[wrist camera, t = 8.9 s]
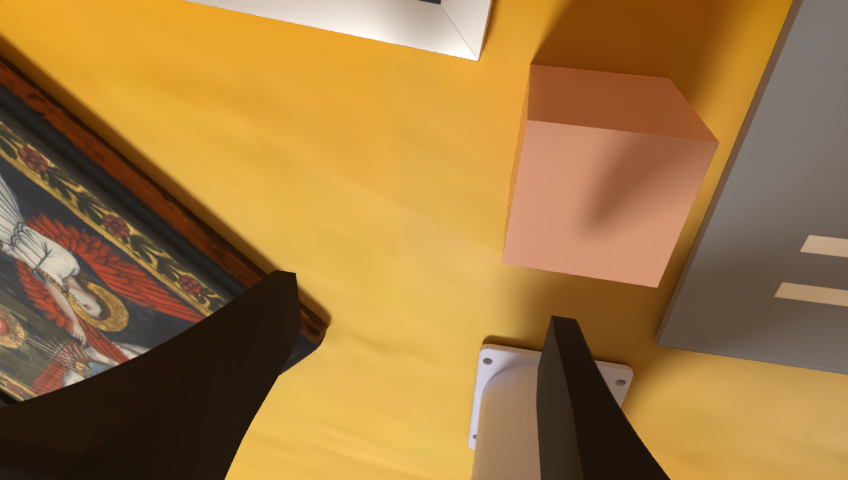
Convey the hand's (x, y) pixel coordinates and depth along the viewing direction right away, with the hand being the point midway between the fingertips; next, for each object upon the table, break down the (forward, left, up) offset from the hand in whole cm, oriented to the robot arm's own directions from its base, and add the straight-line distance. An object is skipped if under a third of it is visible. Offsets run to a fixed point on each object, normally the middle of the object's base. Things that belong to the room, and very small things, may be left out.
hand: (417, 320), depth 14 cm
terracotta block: (+2, -5, -10) cm, 11 cm away
